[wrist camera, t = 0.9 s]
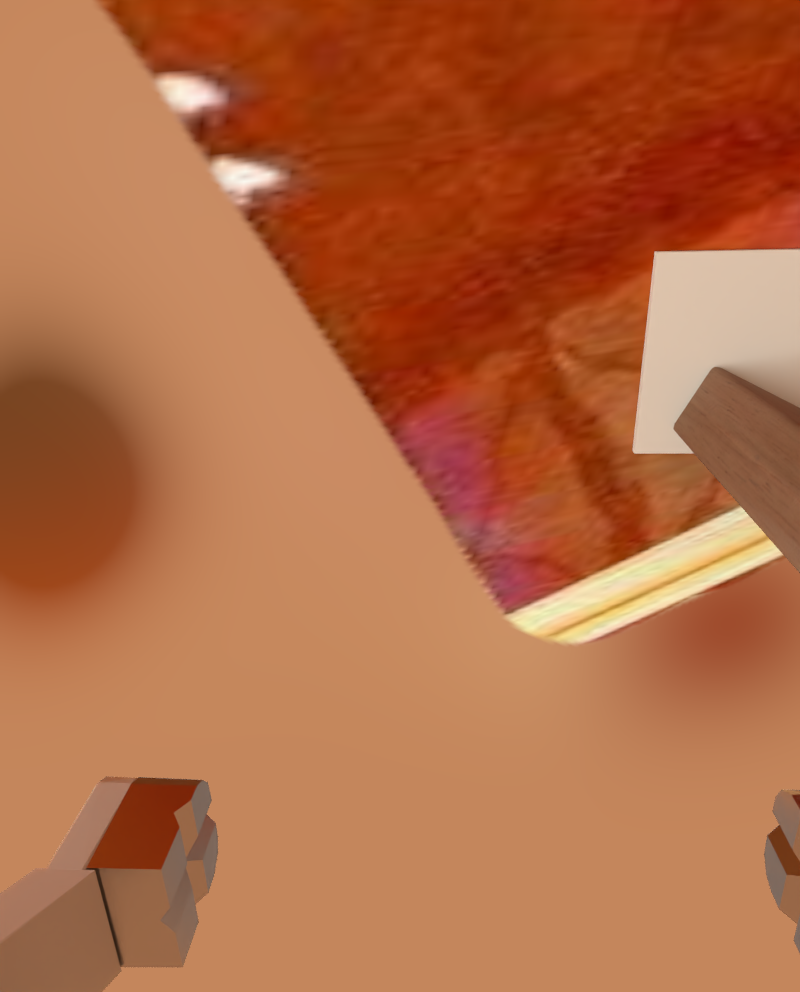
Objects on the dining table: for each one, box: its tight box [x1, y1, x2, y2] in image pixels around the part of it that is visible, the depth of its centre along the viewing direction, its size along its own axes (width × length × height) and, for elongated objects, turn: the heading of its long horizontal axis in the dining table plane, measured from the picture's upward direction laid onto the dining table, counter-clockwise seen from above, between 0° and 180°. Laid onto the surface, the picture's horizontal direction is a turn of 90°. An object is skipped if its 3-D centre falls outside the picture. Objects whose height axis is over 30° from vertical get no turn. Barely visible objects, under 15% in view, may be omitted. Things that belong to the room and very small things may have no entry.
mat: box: [632, 249, 800, 453], centre depth 43 cm, size 12×16×1 cm
